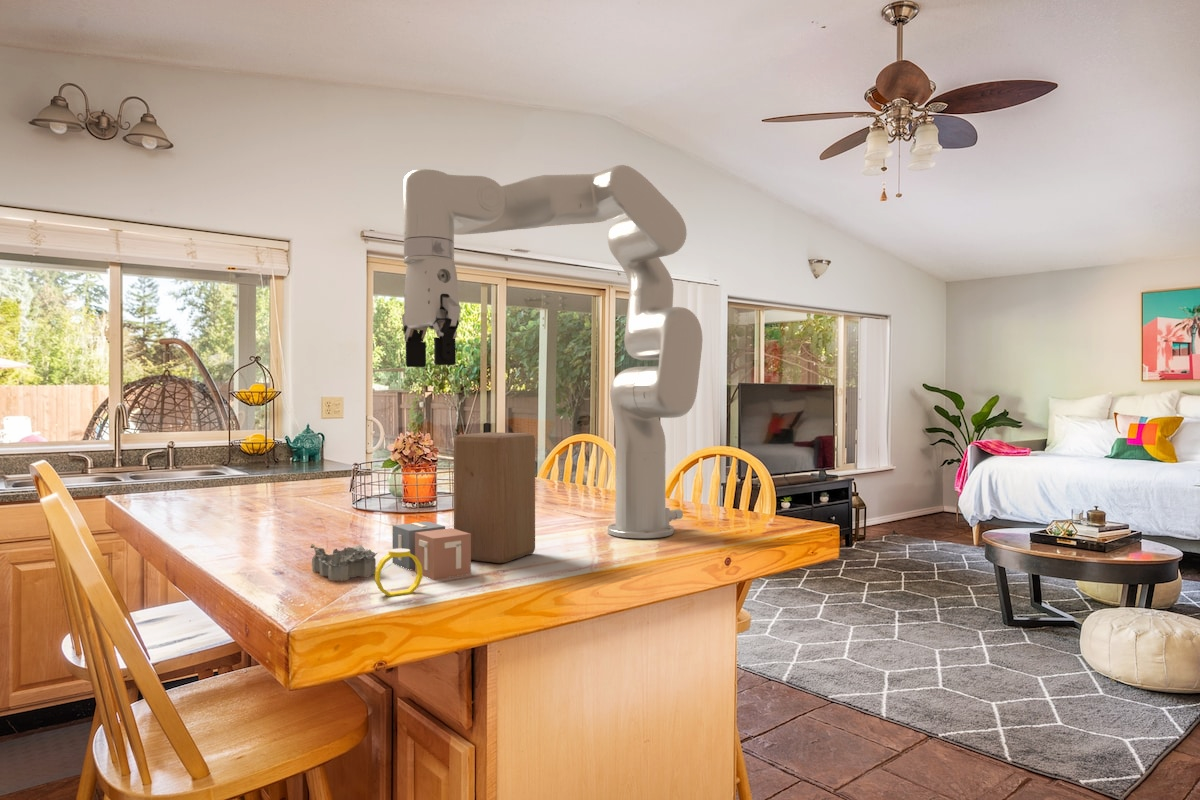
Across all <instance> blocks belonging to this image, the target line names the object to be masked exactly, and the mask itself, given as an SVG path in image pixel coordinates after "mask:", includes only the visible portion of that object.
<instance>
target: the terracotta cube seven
mask: <svg viewBox="0 0 1200 800" xmlns="http://www.w3.org/2000/svg"><path fill="white" fill-rule="evenodd" d="M415 556H416V557H417V559H418V560H419V562H420V563H421V566H422V573H423V575H422V577H425V578H427V577H428V578H427V579H430V580H432V581H437V580H438V581H439V580H442V579H449V578H455V577H461V576H466V574H467V575H471V574H472V560H471V534H470V533H467V532H463V531H460V530H456V529H454V527H453V528H452V527H451V528H445V529H440V530H432V531H424V532H416V533H415ZM415 572H416V573H415ZM414 573H415V574H417V565H416V563H415V569H414ZM436 579H437V580H436Z"/></svg>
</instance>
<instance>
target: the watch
mask: <svg viewBox="0 0 1200 800" xmlns="http://www.w3.org/2000/svg"><path fill="white" fill-rule="evenodd" d="M407 556H409V557H411V558H412V559H413V560H414V562H415V563H416V565H417V573H416V576H415V579H414V582H413V583H412V584H411V585H410V586H409V587H408V588H407V589H401V590H395V591H388V590H386V589H385V588H384V586H383V584H382V582H381V573H382V570H383V568H384V566H385V564H386V563H387V562H388V561H390V560H391V559H393V557H407ZM422 575H423V573H422V566H421V563H420V562H419V560H418V559H417V557H416V556H414V555H412V554H410V550H409V549H403V548H398V549H393V548H391V549H389V550H388V553H387V554H386V555H385V556H383V557H382V558H381V559H380V561H379V562H378V563H377V565H376V570H375V574H374V581H375V583H376V586H377V588H378V589H379V591H380V592H382V593H383V594H385V595H386V596H387V597H395V596H396V597H397V596H405V594H406V595H412V594H413V593H414V592H415V591H416V589H418V588H419V586H420V584H421V581H422V579H423V576H422Z"/></svg>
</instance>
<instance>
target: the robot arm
mask: <svg viewBox="0 0 1200 800" xmlns="http://www.w3.org/2000/svg"><path fill="white" fill-rule="evenodd" d="M402 189H403V191H402V192H403V197H402V199H403V263H404V264H405V265H406V270H405V271H406V272H405V282H404V299H403V300H404V301H403V302H404V303H403V306H404V307H403V311H404V312H403V313H402V316H401V320H402V325H403V329H402V330H403V333H404V339H403V340H404V342H405V366H406V367H407V368H426V366H427V342H426V341H424V339H425V337H426V334H427V331H428V328H429V330H434V332H435V335H436V337H433V338H434V339H433V344H434V346H433V349H434V350H433V351H434V355H433V357H434V358H433V359H434V364H435V366H454V365H456V359H457V358H456V349H457V348H456V338H457V336H458V332H457V329H458V327H459V325H460V317H461V316H460V315H461V306H460V296H459V295H460V294H459V293H460V292H459V284H458V282H459V281H458V274H457V268H456V264H455V235H457V236H463V235H465V236H466V235H475V234H476V235H477V234H489V233H497V232H504V231H505V232H506V231H507V232H508V231H514V230H515V231H516V230H527V229H538V228H542V227H555V226H565V225H566V226H567V225H581V224H583V225H584V224H596V223H603V222H606V221H610V220H613V219H617V218H621V217H623V216H626V217H625V218H622V219H619V220H618V221H616V222H615V223H614V224H613V225H612V226H610V228H609V230H608V232H607V234H608V235H607V245H608V248H609V251H610V253H611V254H612V256H613V257H614V258H615V259H616V260H617V263H619V265H620V267H621V268H622V270H623V271H624V273H625V274H626V277H627V280H628V286H629V289H628V291H629V292H628V303H627V311H626V320H625V330H624V339H623V340H624V341H623V342H624V349H625V350H626V353H627V354H628V355H630V356H631V358H633V359H636V360H640V361H658V365H655V366H654V365H651V366H650V365H648V366H647V365H646V366H634V367H628V368H626V369H622V370H621V371H620V372H619V373H617V374H616V376H615V377H614V379H613V381H612V383H611V384H610V390H609V391H610V392H609V394H610V395H609V396H610V397H609V398H610V404H611V409H612V413H613V420H614V421H613V422H614V433H615V435H614V436H615V456H614V457H615V460H614V461H615V471H614V472H615V479H614V481H615V523H612V524H609V525H607V529H606V530H607V533H608V534H609V535H611V536H614V537H617V538H625V539H658V538H665V537H666V538H667V537H669V536H671V535H673V534H674V532H675V530H674V529H675V528H674V526H673V525H671V524H670V522H672V520H673V521H675V520H681V519H682V518H683V517H684V513H683V510H682V509H680V508H679V509H678V508H677V509H672V510H670V508H669V507H666V448H667V445H666V436H665V432H664V429H663V426H662V423H661V422H660V421H661V420H660V418H664V419H665V418H666V419H669V418H670V419H672V418H673V419H675V418H680V417H684V416H685V415H686V414H688V413H689V412H690V411H691V409H692V408H693V406H694V403H695V401H696V397H697V393H698V389H699V387H698V386H699V378H700V370H701V360H702V351H703V331H702V327H701V323H700V321H699V319H698V317H697V316H696V314H695V313H694V312H693V311H692V310H690V309H688V308H686V307H681V306H674V305H673V304H674V302H673V301H674V283H673V282H674V281H673V278H672V276H671V274H670V272H669V270H668V269H667V267H666V265H665V263H663V261H662V260H661V257H666V256H667V257H668V256H670V255H673V254H676V253H677V252H679V250H681V249H682V248H683V246H684V245H685V243H686V240H687V235H688V234H687V226H686V222H685V220H684V217H683V216H682V215H681V213H680V212H679V211H678V209H676V207H675V206H674V205H673V204H672V203H671V202H670V201H669V200H668V198H666V197H665V196H664V195H663V193H662V192H660V190H659V189H658V188H657V187H656V186H655V185H654V184H653V183H652V182H651V181H650V180H649V179H648V178H646V176H644V175H643V174H642V173H640V172H639V171H637V170H636V169H635V168H633V167H631V166H629V165H625V164H618V165H615V166H612V167H609V168H606V169H604V170H600V171H598V172H595V173H588V174H587V173H585V174H584V173H582V174H580V173H579V174H544V175H543V174H542V175H537V176H536V175H535V176H532V177H529V178H525V179H522V180H519V181H516V182H512V183H509V184H505V185H501V184H500V183H498V182H497V181H496V180H494V179H492V178H490V177H487V176H482V175H458V174H447V172H445V171H440V170H437V169H427V168H423V169H415V170H411V171H410V172H409V171H408V173H407V174H406V175H404V178H403V188H402Z"/></svg>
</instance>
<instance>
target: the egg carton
mask: <svg viewBox="0 0 1200 800" xmlns="http://www.w3.org/2000/svg"><path fill="white" fill-rule="evenodd" d="M309 548H310V549H314V552H315V554H314V556H312V558H311V568H312V572H314V573H315V572H316V573H318V572H319V576H321V577H328V578H327V580H329V581H340V580H341V581H340V582H342V580H344V581H348V580H349V579H350V577H351V578H356V577H355V576H363V577H362V578H367V576H369V577H371V576H372V575H375V574H374V573H375V570H376V567H377V565H376V564H377V561H376V558H375V557H376V555H378V552H374V551H372V549H366V548H365V547H364V546H362V545H360V544H359V545H356V546H353V547H344V549H341V550H339V549H337V548H334V549H333V551H332V554H328V553H326V552H325V548H324V547H317V546H315V545H314V544H311V545H310V547H309ZM371 574H372V575H371ZM348 578H349V579H348Z"/></svg>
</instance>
